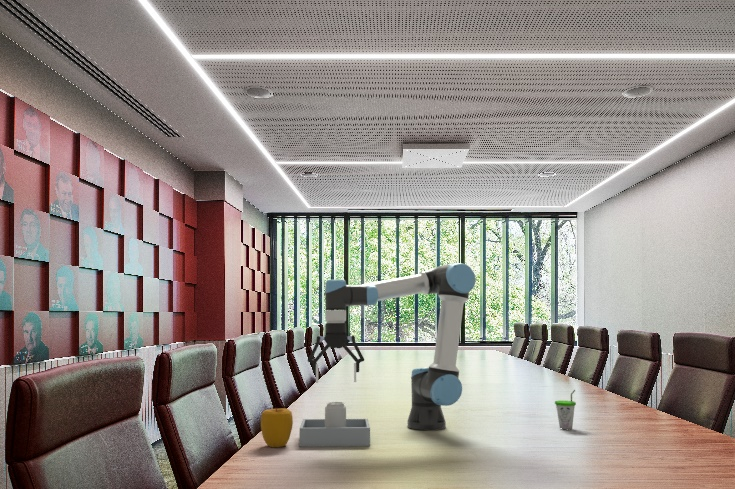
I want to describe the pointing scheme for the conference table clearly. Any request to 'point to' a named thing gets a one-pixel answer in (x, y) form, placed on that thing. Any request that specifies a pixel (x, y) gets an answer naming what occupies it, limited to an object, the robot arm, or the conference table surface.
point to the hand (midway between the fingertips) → (336, 382)
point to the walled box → (334, 433)
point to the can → (335, 415)
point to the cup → (565, 413)
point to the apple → (276, 426)
